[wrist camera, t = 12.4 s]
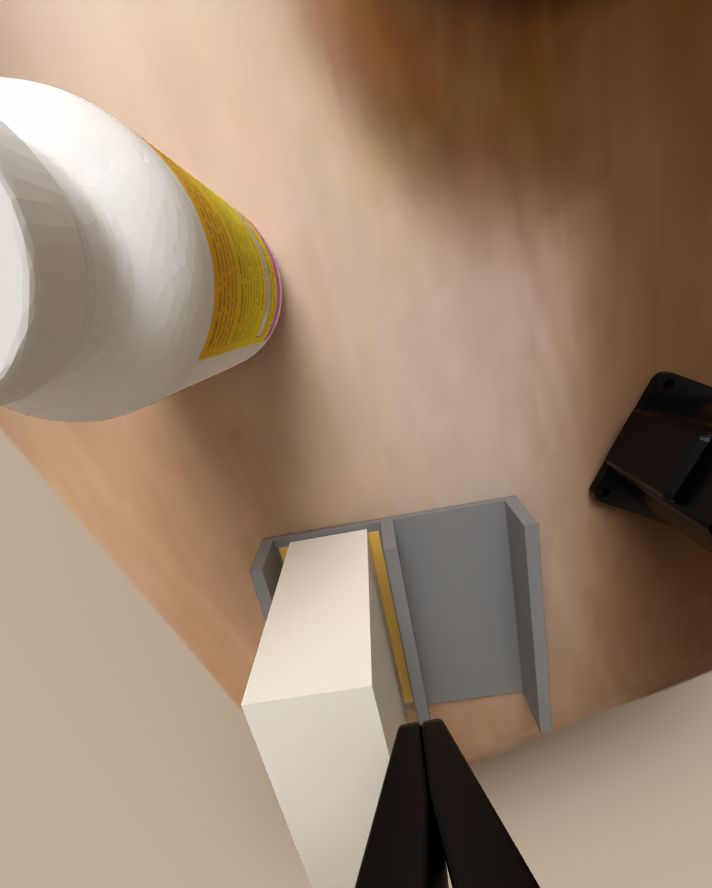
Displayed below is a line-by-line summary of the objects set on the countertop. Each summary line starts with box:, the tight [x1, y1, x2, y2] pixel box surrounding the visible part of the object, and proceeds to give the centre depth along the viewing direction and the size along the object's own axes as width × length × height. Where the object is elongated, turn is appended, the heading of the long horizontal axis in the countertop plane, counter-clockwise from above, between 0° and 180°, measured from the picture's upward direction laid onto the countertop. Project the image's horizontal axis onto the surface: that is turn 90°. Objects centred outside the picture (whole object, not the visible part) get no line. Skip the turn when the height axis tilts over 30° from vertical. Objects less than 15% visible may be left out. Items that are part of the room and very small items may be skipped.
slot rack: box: [249, 496, 552, 733], centre depth 21 cm, size 13×13×4 cm
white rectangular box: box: [241, 529, 407, 888], centre depth 18 cm, size 4×12×9 cm, turn 11°
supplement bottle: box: [0, 77, 282, 422], centre depth 11 cm, size 7×7×13 cm
